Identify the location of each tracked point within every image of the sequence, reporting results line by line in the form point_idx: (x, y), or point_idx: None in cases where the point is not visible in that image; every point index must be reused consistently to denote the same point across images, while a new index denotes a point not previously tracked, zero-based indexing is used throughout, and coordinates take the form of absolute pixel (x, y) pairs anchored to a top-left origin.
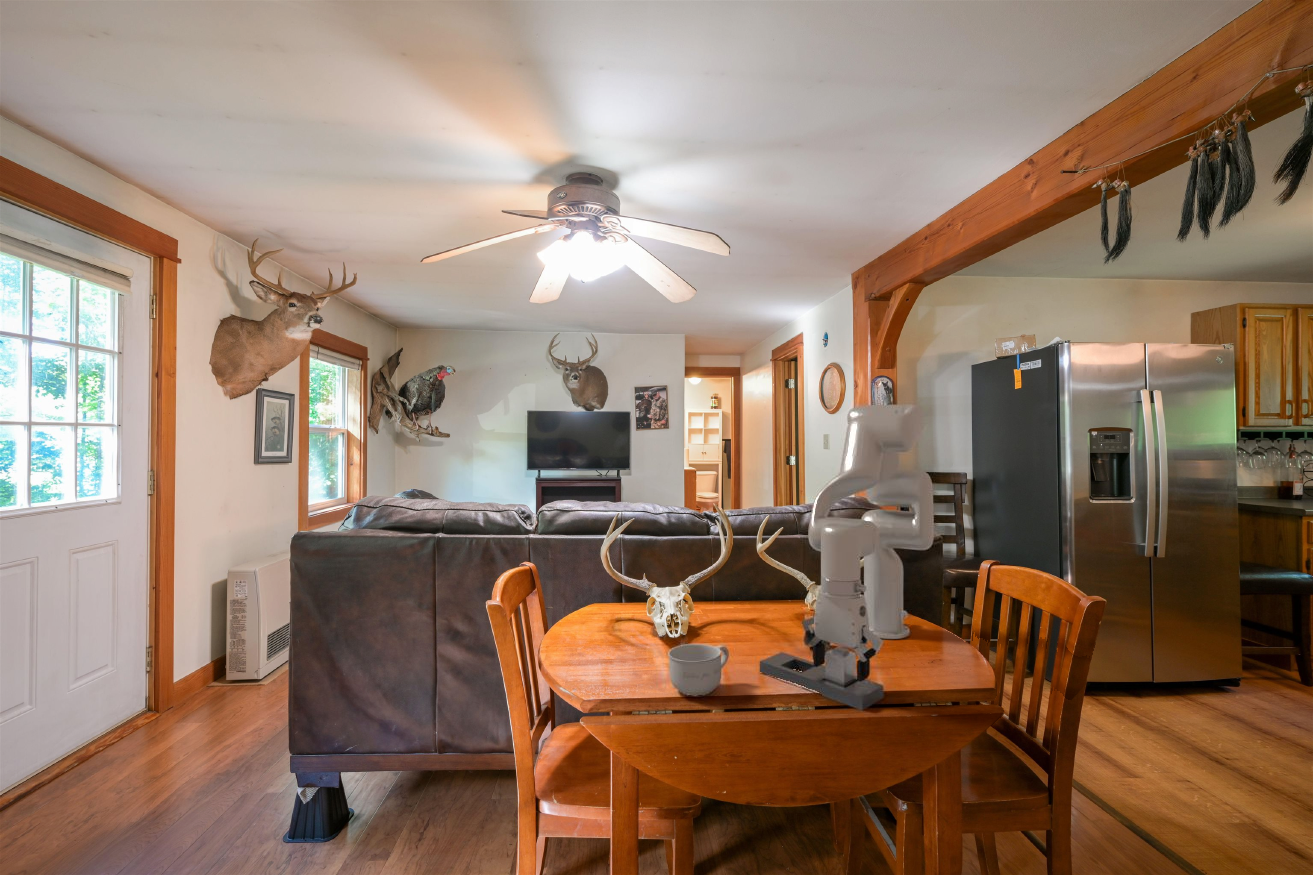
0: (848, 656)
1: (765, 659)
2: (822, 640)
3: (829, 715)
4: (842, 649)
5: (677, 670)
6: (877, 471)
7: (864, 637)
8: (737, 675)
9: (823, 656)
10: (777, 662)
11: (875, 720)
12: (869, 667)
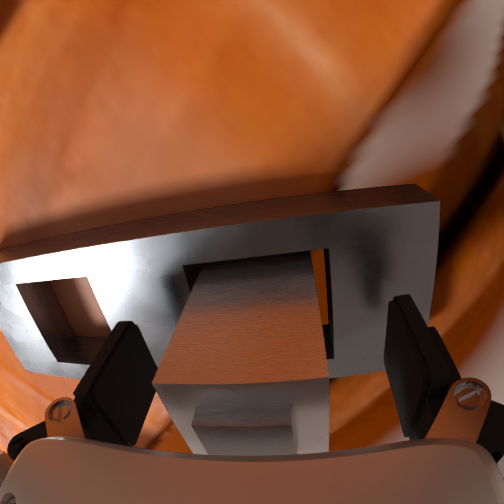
0: (327, 433)
1: (15, 351)
2: (87, 434)
3: (348, 408)
4: (256, 443)
5: None
6: None
7: (445, 484)
8: (52, 388)
9: (126, 358)
10: (36, 348)
11: (454, 343)
12: (447, 353)
